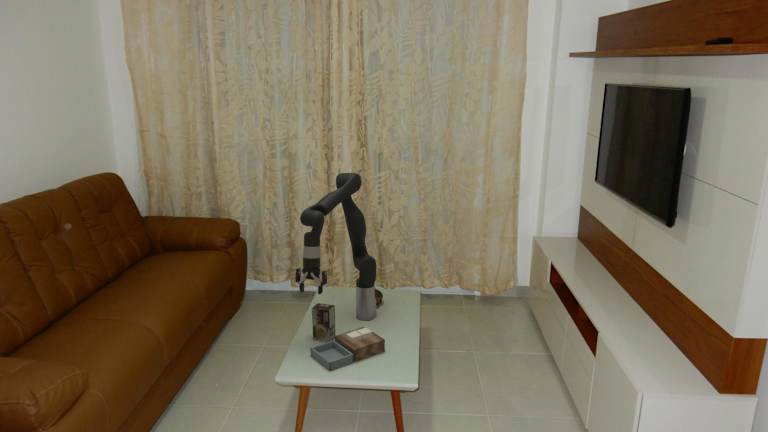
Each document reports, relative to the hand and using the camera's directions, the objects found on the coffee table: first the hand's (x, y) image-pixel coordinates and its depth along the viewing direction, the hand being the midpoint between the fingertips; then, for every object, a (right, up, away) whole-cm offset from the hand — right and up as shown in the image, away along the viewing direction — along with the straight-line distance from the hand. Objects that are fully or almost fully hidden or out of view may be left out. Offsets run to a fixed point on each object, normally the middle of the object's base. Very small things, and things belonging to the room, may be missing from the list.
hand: (310, 293), depth 246 cm
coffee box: (+4, -24, +17) cm, 30 cm away
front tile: (+19, -21, +3) cm, 28 cm away
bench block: (+21, -26, +7) cm, 34 cm away
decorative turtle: (+26, -14, +58) cm, 65 cm away
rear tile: (+23, -20, +6) cm, 31 cm away
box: (+9, -28, -2) cm, 30 cm away
